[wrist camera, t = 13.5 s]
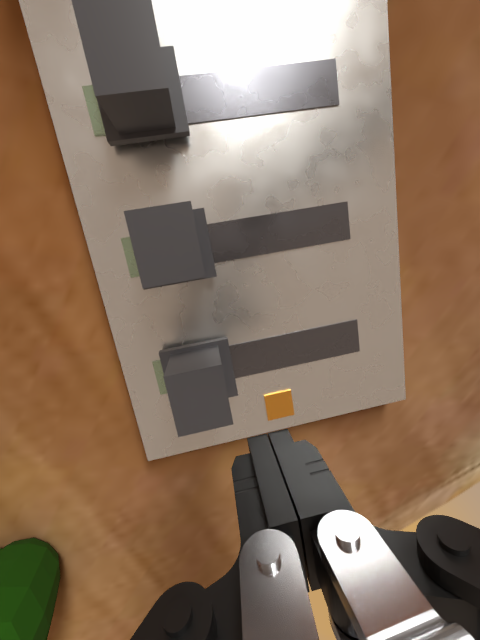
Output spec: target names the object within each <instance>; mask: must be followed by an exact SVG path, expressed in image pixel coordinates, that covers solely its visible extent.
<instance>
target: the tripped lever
mask: <svg viewBox="0 0 480 640" xmlns="http://www.w3.org/2000/svg"><path fill="white" fill-rule="evenodd" d="M159 357H160V361H161V365H162V369H163V373H164V376H163V377H164V382H165V386H166V390H167V394H168V398H169V402H170V406H171V410H172V414H173V418H174V422H175V426H176V430H177V434H178V437H182V436H186V435H190V434H195V433H199V432H203V431H208V430H212V429H216V428H220V427H225V426H229V425H233V419H232V414H231V409H230V404H229V399H228V398H230V397H234V396H238V391H237V386H236V380H235V375H234V370H233V365H232V359H231V354H230V349H229V343H228V338H227V337H222V338H217V339H213V340H208V341H203V342H198V343H193V344H188V345H183V346H178V347H173V348H168V349H163V350H160V351H159Z"/></svg>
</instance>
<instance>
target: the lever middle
mask: <svg viewBox="0 0 480 640" xmlns="http://www.w3.org/2000/svg"><path fill="white" fill-rule="evenodd" d="M124 215H125V219H126V223H127V227H128V231H129V235H130V239H131V243H132V247H133V251H134V255H135V259H136V263H137V268H138V272H139V276H140V280H141V284H142V288H143V289H144V290H145V289H151V288H156V287H162V286H167V285H173V284H178V283H184V282H189V281H195V280H200V279H206V278H211V277H217V275H216V269H215V264H214V259H213V253H212V248H211V243H210V237H209V232H208V227H207V221H206V216H205V211H204V208H199V209H192V205H191V201H186V202H179V203H173V204H166V205H160V206H153V207H147V208H140V209H133V210H127V211H124Z"/></svg>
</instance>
